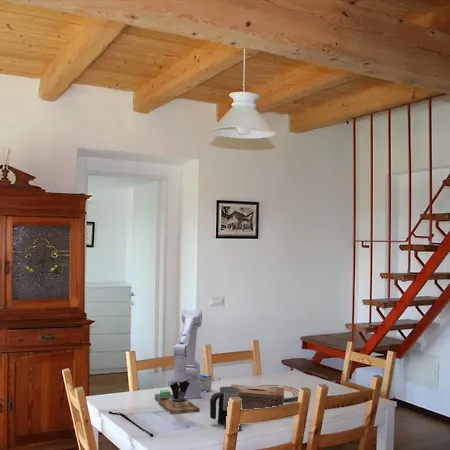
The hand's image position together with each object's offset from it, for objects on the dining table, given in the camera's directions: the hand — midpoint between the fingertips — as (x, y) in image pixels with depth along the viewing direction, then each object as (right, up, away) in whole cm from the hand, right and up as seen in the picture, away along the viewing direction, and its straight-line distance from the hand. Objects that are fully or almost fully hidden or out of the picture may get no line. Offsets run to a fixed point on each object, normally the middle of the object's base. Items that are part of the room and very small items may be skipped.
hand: (178, 398), depth 275 cm
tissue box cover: (+36, -7, +1) cm, 37 cm away
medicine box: (+10, -7, +35) cm, 37 cm away
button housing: (-8, -5, +12) cm, 15 cm away
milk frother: (+24, -5, -24) cm, 35 cm away
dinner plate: (+48, -9, +31) cm, 58 cm away
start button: (-8, -2, +12) cm, 14 cm away
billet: (0, -2, 0) cm, 2 cm away
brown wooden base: (0, -5, 0) cm, 4 cm away
